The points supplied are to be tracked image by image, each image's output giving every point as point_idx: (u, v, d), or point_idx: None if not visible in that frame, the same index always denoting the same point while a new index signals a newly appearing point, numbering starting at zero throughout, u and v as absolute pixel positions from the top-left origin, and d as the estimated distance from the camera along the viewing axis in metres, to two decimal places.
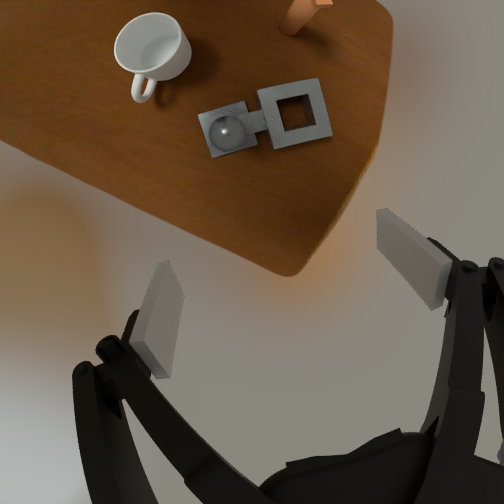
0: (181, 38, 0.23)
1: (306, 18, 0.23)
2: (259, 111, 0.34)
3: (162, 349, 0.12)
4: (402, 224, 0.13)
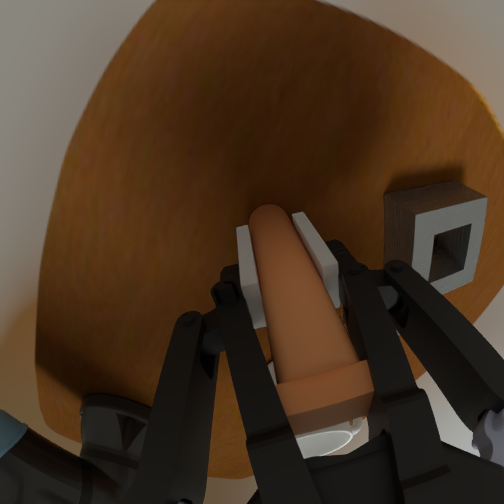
0: (325, 429, 0.19)
1: None
2: None
3: None
4: (307, 227, 0.15)
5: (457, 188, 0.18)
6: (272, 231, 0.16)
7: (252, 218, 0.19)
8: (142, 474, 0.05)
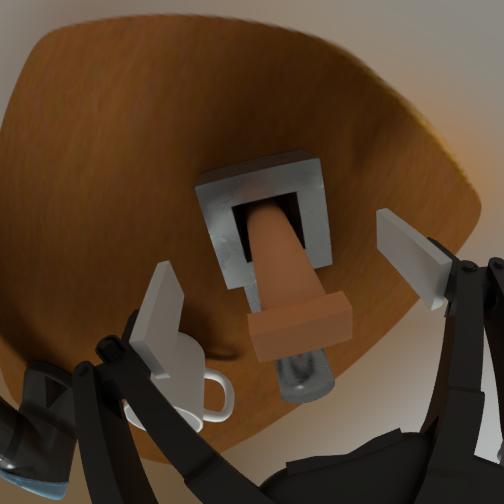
0: None
1: None
2: None
3: (162, 349, 0.12)
4: (402, 224, 0.13)
5: (290, 155, 0.20)
6: (262, 209, 0.19)
7: None
8: None
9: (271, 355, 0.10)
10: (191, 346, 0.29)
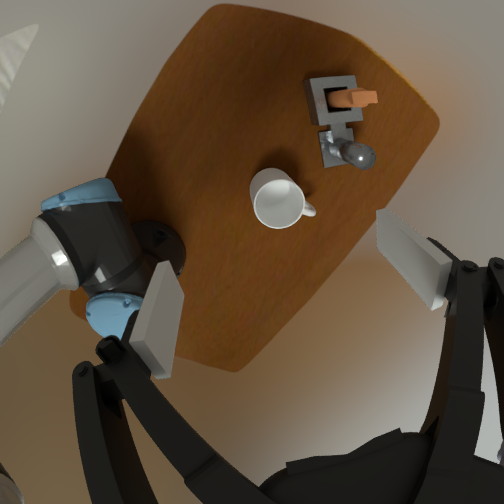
0: (283, 179, 0.41)
1: None
2: (331, 124, 0.44)
3: (162, 349, 0.12)
4: (402, 224, 0.13)
5: None
6: (334, 91, 0.39)
7: None
8: None
9: (356, 101, 0.31)
10: None
